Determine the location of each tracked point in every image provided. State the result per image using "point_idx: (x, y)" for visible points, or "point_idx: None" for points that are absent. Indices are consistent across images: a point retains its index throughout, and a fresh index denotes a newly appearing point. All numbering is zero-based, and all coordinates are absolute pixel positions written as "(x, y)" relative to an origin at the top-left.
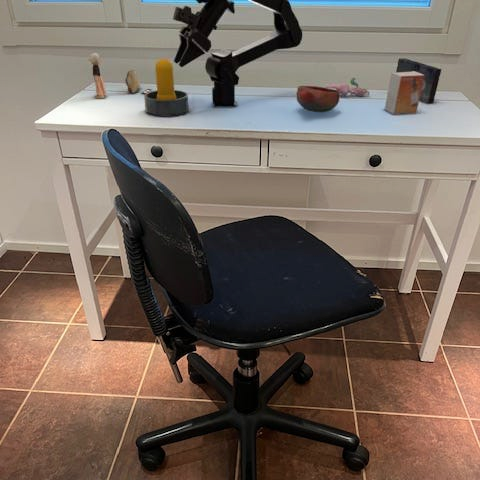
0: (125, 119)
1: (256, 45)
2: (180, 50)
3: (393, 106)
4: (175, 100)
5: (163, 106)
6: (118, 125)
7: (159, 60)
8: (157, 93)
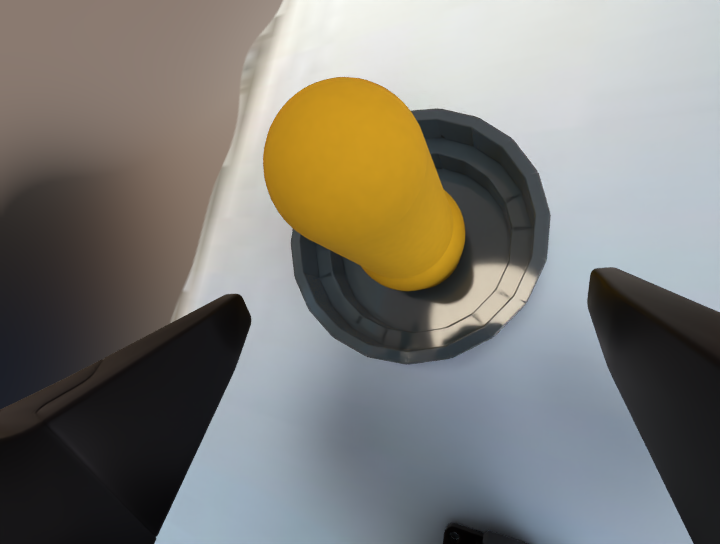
0: None
1: None
2: (709, 396)
3: None
4: (294, 275)
5: None
6: (273, 78)
7: (300, 95)
8: (519, 179)
